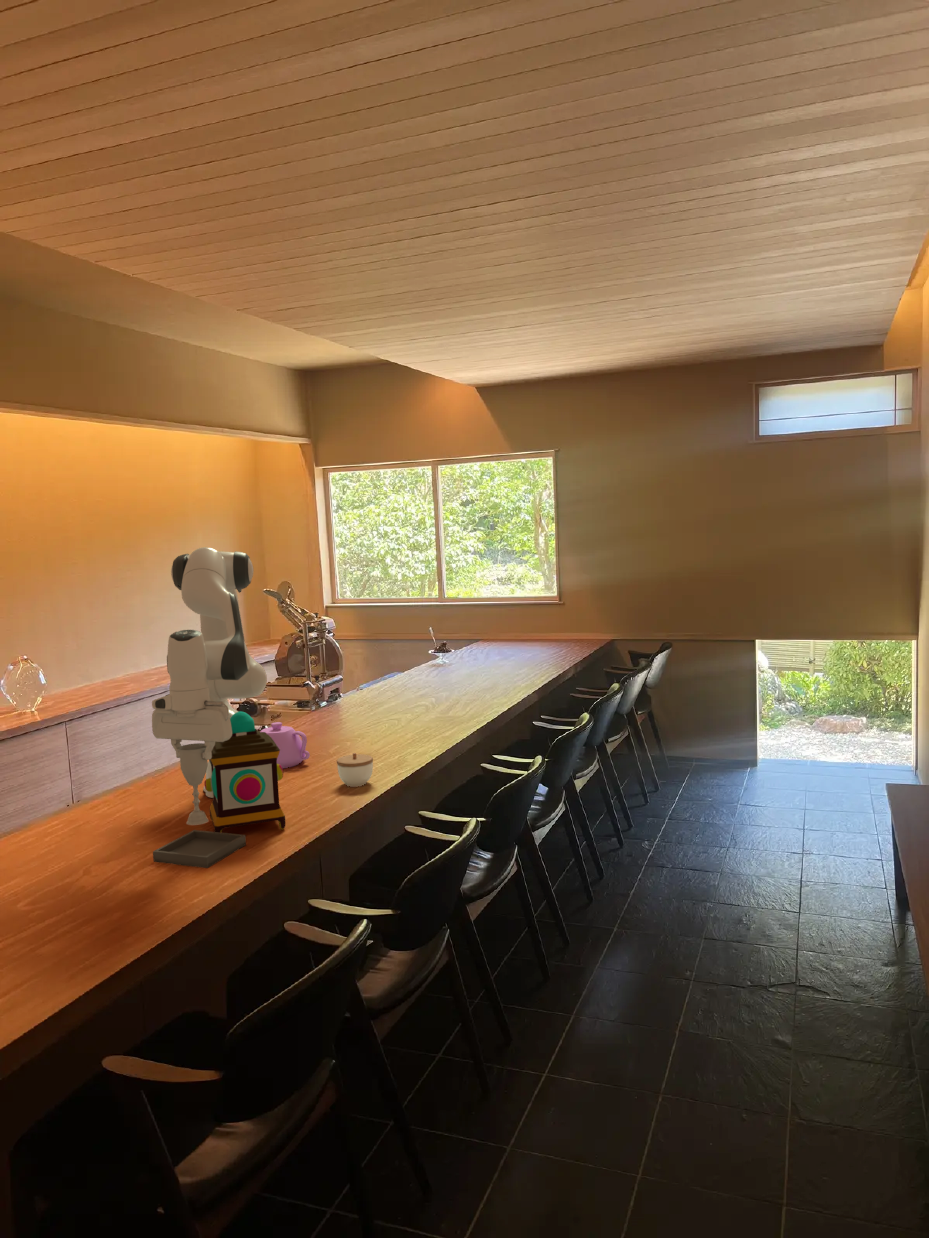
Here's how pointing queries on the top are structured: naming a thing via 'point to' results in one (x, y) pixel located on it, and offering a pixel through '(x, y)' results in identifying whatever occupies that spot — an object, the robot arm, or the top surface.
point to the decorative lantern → (245, 777)
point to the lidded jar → (355, 769)
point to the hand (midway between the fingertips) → (194, 758)
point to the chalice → (194, 776)
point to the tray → (199, 848)
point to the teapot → (288, 744)
